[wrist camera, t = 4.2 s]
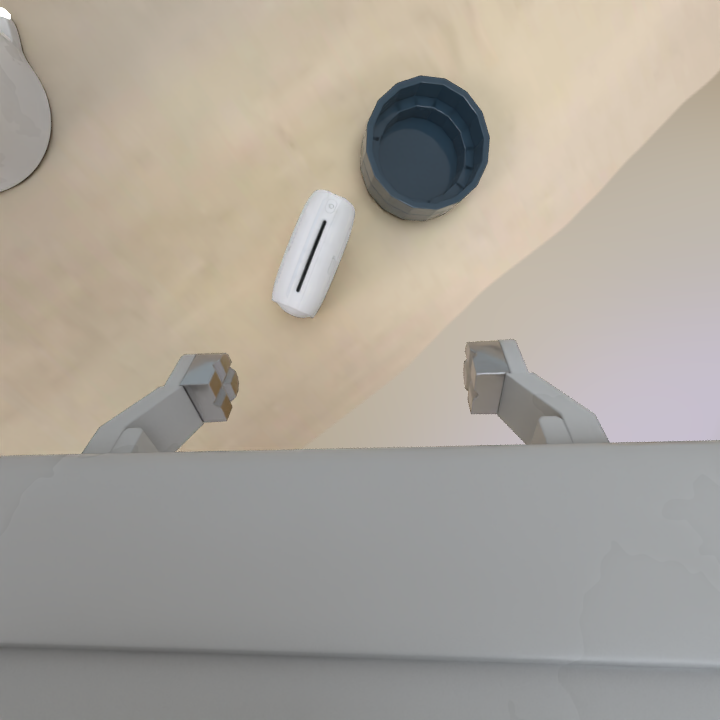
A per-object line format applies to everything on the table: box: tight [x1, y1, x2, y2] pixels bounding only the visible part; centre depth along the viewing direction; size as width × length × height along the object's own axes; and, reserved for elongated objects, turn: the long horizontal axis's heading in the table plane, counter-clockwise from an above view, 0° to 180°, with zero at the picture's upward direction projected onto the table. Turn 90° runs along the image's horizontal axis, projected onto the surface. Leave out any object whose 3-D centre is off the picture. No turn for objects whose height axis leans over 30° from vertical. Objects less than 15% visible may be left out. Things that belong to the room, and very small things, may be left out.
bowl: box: [360, 76, 490, 221], centre depth 39 cm, size 12×12×5 cm
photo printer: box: [272, 190, 355, 318], centre depth 35 cm, size 10×4×12 cm, turn 157°
